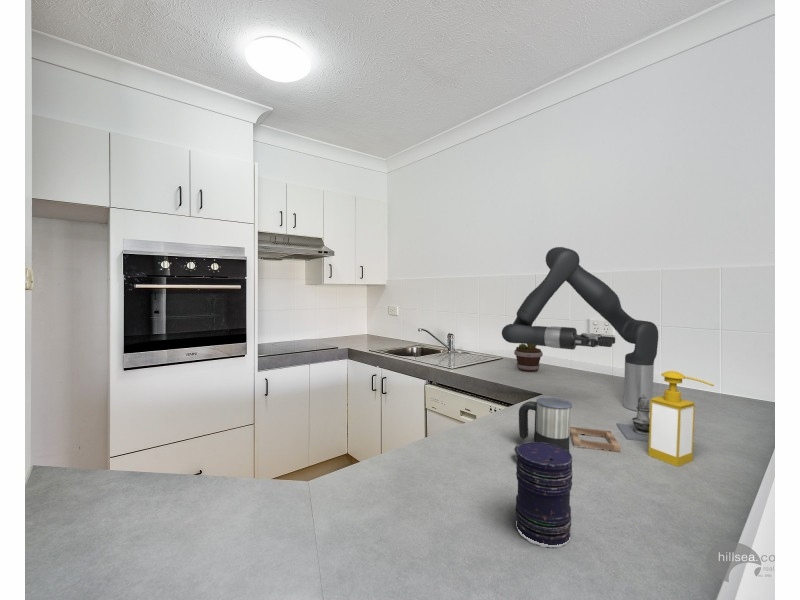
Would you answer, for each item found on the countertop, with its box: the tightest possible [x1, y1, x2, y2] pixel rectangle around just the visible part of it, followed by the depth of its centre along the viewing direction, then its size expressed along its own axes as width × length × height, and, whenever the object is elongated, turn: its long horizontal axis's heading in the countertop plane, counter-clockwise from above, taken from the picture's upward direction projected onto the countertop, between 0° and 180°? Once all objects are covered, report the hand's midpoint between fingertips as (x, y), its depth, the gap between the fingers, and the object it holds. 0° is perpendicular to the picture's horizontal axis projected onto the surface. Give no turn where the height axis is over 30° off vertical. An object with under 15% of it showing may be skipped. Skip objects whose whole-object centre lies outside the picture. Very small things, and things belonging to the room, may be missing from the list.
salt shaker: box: [631, 394, 650, 435], centre depth 117 cm, size 6×6×12 cm
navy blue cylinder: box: [514, 441, 573, 545], centre depth 71 cm, size 10×10×15 cm
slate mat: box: [616, 422, 649, 442], centre depth 118 cm, size 12×12×1 cm
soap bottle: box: [647, 370, 715, 467], centre depth 98 cm, size 7×13×24 cm, turn 27°
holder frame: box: [570, 426, 622, 453], centre depth 112 cm, size 12×12×2 cm
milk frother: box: [513, 396, 574, 455], centre depth 100 cm, size 14×16×15 cm
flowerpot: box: [513, 343, 543, 373], centre depth 205 cm, size 14×15×20 cm
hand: (613, 342), depth 122 cm, fingers open, 8 cm apart
